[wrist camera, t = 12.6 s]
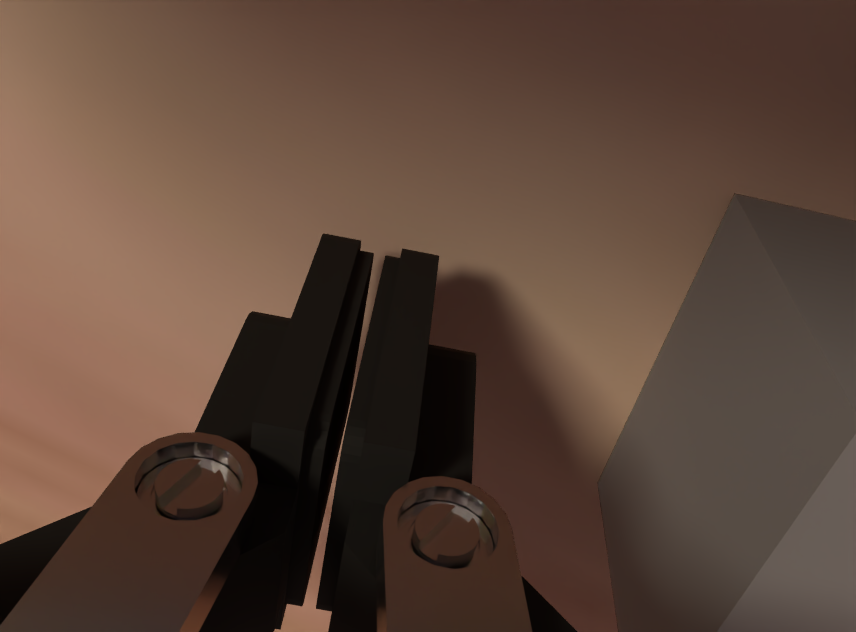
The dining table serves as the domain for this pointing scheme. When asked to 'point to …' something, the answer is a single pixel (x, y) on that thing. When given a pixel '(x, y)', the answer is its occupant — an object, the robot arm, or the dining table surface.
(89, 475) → the dining table surface
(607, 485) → the block
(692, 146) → the dining table surface
